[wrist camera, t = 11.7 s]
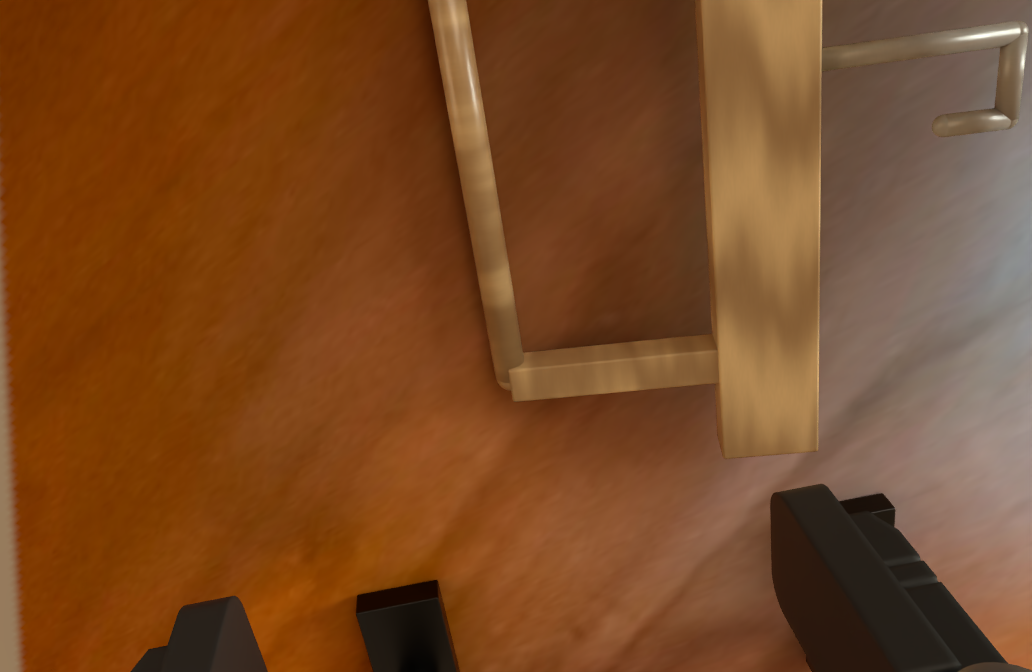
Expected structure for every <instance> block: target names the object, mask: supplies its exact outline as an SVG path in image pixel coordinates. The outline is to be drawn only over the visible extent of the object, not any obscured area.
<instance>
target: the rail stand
mask: <svg viewBox="0 0 1032 672" xmlns="http://www.w3.org/2000/svg"><path fill="white" fill-rule="evenodd" d="M839 503H840V504H841V505H842V507H843V508H844V509H845V511H846V512H847V513H848V514H853V513H858V512H863V511H868V512H870V513H872V514H873V515H875V516H877V517H878V518H880V519H881V520H883V521H885V522H886V523H888V524H890V525H891V526H893V527H894V524H895V507H894V506H893V505H892V504H891V503H890V501H889V500H888V499H887V498H886V497H885V495H884V494H882V493H881V494H875V495H870V496H865V497H860V498H855V499H850V500H845V501H840V502H839ZM356 616H357V619H358V622H359V626H360V629H361V632H362V636H363V639H364V642H365V645H366V649H367V652H368V655H369V659H370V662H371V665H372V668H373V672H460V670H459V666H458V662H457V658H456V654H455V650H454V646H453V641H452V637H451V633H450V629H449V625H448V621H447V617H446V613H445V609H444V604H443V600H442V596H441V592H440V588H439V584H438V581H437V580H433V581H428V582H422V583H417V584H412V585H407V586H402V587H397V588H392V589H387V590H381V591H376V592H371V593H366V594H361V595H358V596H357V607H356ZM806 662H807V664H808V666H809V667H810V669H811V671H812V672H815V670H814V668H813V667H812V665H811V663H810V661H809V659H808V658H807V656H806Z"/></svg>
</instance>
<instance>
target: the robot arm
mask: <svg viewBox="0 0 1032 672" xmlns="http://www.w3.org/2000/svg"><path fill="white" fill-rule="evenodd" d="M770 510H771V560H772V578H773V584H774V588H775V592H776V596H777V599H778V602H779V604H780V607H781V609H782V612H783V614H784V616H785V618H786V619H787V621H788V623H789V625H790V627H791V628H792V630H793V632H794V634H795V636H796V638H797V639H798V641H799V643H800V645H801V647H802V648H803V650H804V652H805V654H806V656H807V658H808V659H809V661H810V663H811V665H812V667H813V668H814V670H815V672H1032V671H1031V670H1029V669H1026V668H1023V667H1020V666H1016V665H1012V664H1008V663H1007V662H1006V661H1005V660H1004V658H1003V657H1002V656H1001V655H1000V654H999V652H998V651H997V650H996V649H995V647H994V646H993V645H992V644H991V643H990V641H989V640H988V639H987V638H986V636H985V635H984V634H983V633H982V631H981V630H980V629H979V628H978V627H977V625H976V624H975V623H974V622H973V620H972V619H971V618H970V617H969V616H968V614H967V613H966V612H965V611H964V609H963V608H962V607H961V606H960V605H959V603H958V602H957V601H956V600H955V598H954V597H953V596H952V595H951V594H950V592H949V591H948V590H947V589H946V587H945V586H944V585H943V584H942V583H941V582H938V581H937V576H936V575H935V574H934V573H933V571H932V570H931V569H930V568H929V567H928V565H927V564H926V563H925V562H924V561H921V560H920V556H919V554H918V553H917V552H916V551H915V549H914V548H913V547H912V546H911V545H910V543H909V542H908V541H907V540H906V538H905V537H904V536H903V535H902V534H901V532H900V531H899V530H898V529H896V528H894V527H893V526H891V525H890V524H888V523H886V522H885V521H883V520H881V519H880V518H878V517H877V516H875V515H873V514H872V513H870V512H868V511H863V512H858V513H853V514H848V513H847V512H846V511H845V509H844V508H843V507H842V505H841V504H840V503H839V501H838V500H837V499H836V497H835V496H834V495H833V493H832V492H831V491H830V490H829V488H828V487H827V486H825V485H824V484H817V485H812V486H807V487H802V488H797V489H792V490H786V491H781V492H776V493H773V495H772V497H771V504H770ZM131 672H268V671H267V668H266V665H265V663H264V660H263V658H262V655H261V652H260V650H259V647H258V644H257V642H256V639H255V636H254V634H253V631H252V629H251V626H250V623H249V621H248V618H247V615H246V613H245V610H244V607H243V605H242V603H241V601H240V600H239V598H238V597H236V596H231V597H226V598H220V599H215V600H210V601H205V602H200V603H195V604H189V605H185V606H183V607H182V608H181V609H180V611H179V613H178V615H177V618H176V621H175V624H174V627H173V631H172V634H171V637H170V640H169V643H168V646H163V647H158V648H153V649H149V650H148V651H147V652H146V653H145V655H144V656H143V657H142V658H141V660H140V661H139V662H138V663H137V665H136V666H135V667H134V668H133V669H132V671H131Z"/></svg>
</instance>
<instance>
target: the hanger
mask: <svg viewBox="0 0 1032 672" xmlns="http://www.w3.org/2000/svg"><path fill="white" fill-rule="evenodd" d="M428 4H429V10H430V15H431V21H432V26H433V32H434V37H435V43H436V49H437V54H438V60H439V65H440V71H441V76H442V82H443V87H444V93H445V98H446V104H447V110H448V115H449V121H450V126H451V132H452V137H453V143H454V148H455V154H456V159H457V165H458V171H459V176H460V182H461V187H462V193H463V198H464V204H465V209H466V215H467V220H468V226H469V232H470V237H471V243H472V248H473V254H474V259H475V265H476V270H477V276H478V282H479V287H480V293H481V298H482V304H483V309H484V315H485V320H486V326H487V331H488V337H489V343H490V348H491V354H492V359H493V365H494V370H495V376H496V380H497V382H498V384H499V385H500V386H501V387H502V388H503V389H505V390H509V391H511V392H512V398H513V401H514V402H521V401H532V400H543V399H553V398H564V397H575V396H586V395H596V394H607V393H618V392H629V391H639V390H650V389H661V388H672V387H682V386H693V385H704V384H715V398H716V417H717V436H718V439H719V443H720V447H721V451H722V455H723V458H724V459H730V458H742V457H755V456H767V455H779V454H791V453H803V452H815V451H817V450H818V403H819V295H820V187H821V79H822V71H828V70H836V69H843V68H851V67H858V66H865V65H873V64H880V63H888V62H895V61H902V60H910V59H917V58H925V57H932V56H940V55H947V54H954V53H962V52H969V51H977V50H984V49H991V48H999V47H1000V57H999V68H998V78H997V88H996V98H995V108H992V109H984V110H976V111H968V112H960V113H952V114H945V115H940V116H938V117H937V118H936V119H935V120H934V121H933V123H932V131H933V133H934V134H935V135H937V136H939V137H949V136H957V135H965V134H974V133H982V132H990V131H998V130H1006V129H1010V128H1012V127H1014V126H1015V125H1016V124H1017V122H1018V120H1019V113H1020V104H1021V95H1022V86H1023V77H1024V68H1025V59H1026V50H1027V41H1028V27H1027V25H1026V24H1025V23H1023V22H1021V21H1012V22H1005V23H998V24H990V25H983V26H976V27H969V28H961V29H954V30H947V31H940V32H932V33H925V34H918V35H911V36H904V37H896V38H889V39H882V40H875V41H867V42H860V43H853V44H846V45H838V46H831V47H824V48H822V0H695V12H696V32H697V51H698V70H699V89H700V109H701V128H702V147H703V166H704V186H705V205H706V224H707V243H708V263H709V282H710V301H711V320H712V334H704V335H694V336H684V337H674V338H664V339H654V340H644V341H634V342H624V343H614V344H604V345H594V346H584V347H574V348H564V349H554V350H544V351H534V352H524V353H523V349H522V342H521V336H520V330H519V324H518V318H517V312H516V305H515V299H514V293H513V287H512V281H511V274H510V268H509V262H508V256H507V250H506V244H505V237H504V231H503V225H502V219H501V213H500V207H499V200H498V194H497V188H496V182H495V176H494V169H493V163H492V157H491V151H490V145H489V139H488V132H487V126H486V120H485V114H484V108H483V101H482V95H481V89H480V83H479V77H478V71H477V64H476V58H475V52H474V46H473V40H472V34H471V27H470V21H469V15H468V9H467V3H466V0H428Z"/></svg>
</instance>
